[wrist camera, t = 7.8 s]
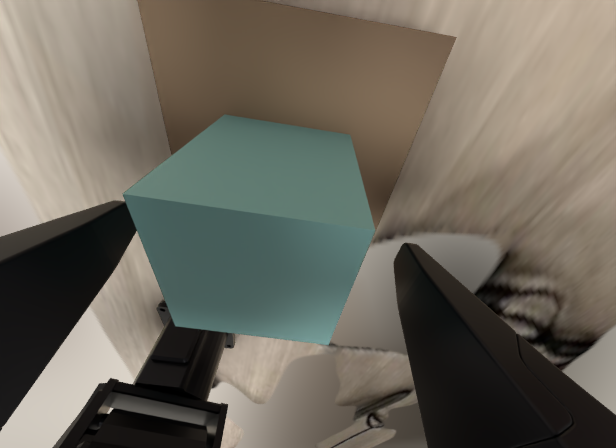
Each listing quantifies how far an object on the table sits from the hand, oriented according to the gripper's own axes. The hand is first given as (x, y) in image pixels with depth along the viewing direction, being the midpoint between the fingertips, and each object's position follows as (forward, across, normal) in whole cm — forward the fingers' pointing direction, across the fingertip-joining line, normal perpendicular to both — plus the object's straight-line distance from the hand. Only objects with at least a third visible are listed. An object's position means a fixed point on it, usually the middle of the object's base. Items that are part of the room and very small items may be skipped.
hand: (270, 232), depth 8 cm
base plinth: (+6, 0, 0) cm, 6 cm away
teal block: (+4, 0, 0) cm, 4 cm away
